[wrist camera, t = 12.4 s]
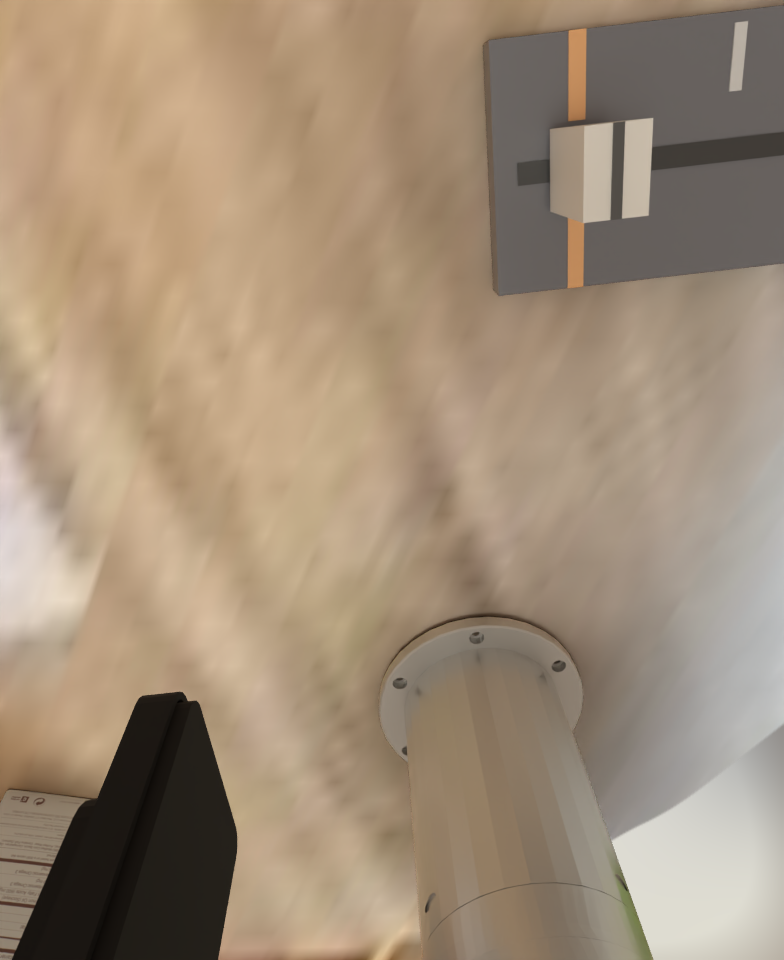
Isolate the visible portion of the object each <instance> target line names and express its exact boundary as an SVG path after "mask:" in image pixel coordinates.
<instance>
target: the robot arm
mask: <svg viewBox="0 0 784 960" xmlns="http://www.w3.org/2000/svg"><path fill="white" fill-rule="evenodd" d="M582 704H583V690H582V682H581V679H580V677H579V674H578V671H577V668H576V666H575V664H574V662H573V660H572V658H571V656H570V655H569V653H568V652H567V651H566V649H565V648H564V647H563V646H562V645H561V644H560V643H559V642H558V641H557V640H556V639H555V638H553V637H552V636H550V635H549V634H548V633H546V632H545V631H543V630H541V629H539V628H537V627H535V626H532V625H530V624H528V623H525V622H521V621H517V620H513V619H509V618H498V617H478V618H467V619H463V620H458V621H454V622H450V623H447V624H444V625H442V626H439V627H437V628H434V629H432V630H430V631H428V632H426V633H425V634H423V635H421V636H420V637H418V638H416V639H415V640H413V641H412V642H411V643H410V644H409V645H408V646H406V647H405V648H404V649H403V650H402V651H401V652H400V653H399V654H398V655H397V657H396V658H395V659H394V660H393V662H392V663H391V664H390V666H389V667H388V670H387V672H386V674H385V676H384V678H383V680H382V684H381V688H380V693H379V716H380V723H381V728H382V730H383V732H384V735H385V737H386V740H387V741H388V743H389V744H390V745H391V747H392V748H393V749H394V751H395V752H396V753H397V754H398V755H399V756H400V757H401V758H403V759H404V760H405V761H406V762H407V763H408V771H409V785H410V798H411V812H412V826H413V839H414V853H415V867H416V881H417V894H418V908H419V922H420V935H421V949H422V960H653V957H652V954H651V952H650V949H649V946H648V943H647V940H646V938H645V935H644V932H643V929H642V926H641V924H640V921H639V918H638V915H637V912H636V909H635V907H634V904H633V901H632V898H631V895H630V893H629V890H628V887H627V884H626V881H625V879H624V876H623V873H622V870H621V867H620V865H619V862H618V859H617V856H616V853H615V851H614V848H613V845H612V842H611V839H610V836H609V834H608V831H607V828H606V825H605V822H604V820H603V817H602V814H601V811H600V808H599V806H598V803H597V800H596V797H595V794H594V792H593V789H592V786H591V783H590V780H589V778H588V775H587V772H586V769H585V766H584V764H583V761H582V758H581V755H580V752H579V750H578V747H577V744H576V741H575V738H574V736H573V733H572V732H573V730H574V729H575V727H576V725H577V722H578V720H579V717H580V714H581V711H582ZM236 854H237V831H236V826H235V823H234V819H233V816H232V812H231V809H230V806H229V802H228V799H227V796H226V792H225V789H224V785H223V782H222V779H221V775H220V772H219V768H218V765H217V762H216V758H215V755H214V751H213V748H212V745H211V741H210V738H209V734H208V731H207V728H206V724H205V721H204V717H203V714H202V711H201V707H200V705H199V703H198V702H197V701H187V698H186V696H185V695H184V693H183V692H174V693H164V694H155V695H146V696H142V697H140V698H139V699H138V701H137V703H136V705H135V707H134V710H133V712H132V715H131V717H130V720H129V722H128V724H127V727H126V729H125V732H124V734H123V737H122V739H121V742H120V744H119V747H118V749H117V752H116V754H115V756H114V759H113V761H112V764H111V766H110V769H109V771H108V774H107V776H106V779H105V781H104V784H103V786H102V788H101V791H100V793H99V796H98V798H97V799H91V800H87V801H85V802H84V803H83V804H82V805H81V806H80V807H79V808H78V809H77V811H76V813H75V815H74V817H73V818H72V821H71V823H70V825H69V828H68V830H67V832H66V835H65V837H64V839H63V842H62V844H61V846H60V849H59V851H58V853H57V856H56V858H55V860H54V863H53V865H52V867H51V869H50V872H49V874H48V876H47V879H46V881H45V883H44V886H43V888H42V890H41V893H40V895H39V897H38V900H37V902H36V904H35V907H34V909H33V911H32V914H31V916H30V918H29V920H28V923H27V925H26V927H25V930H24V932H23V934H22V937H21V939H20V941H19V944H18V946H17V948H16V951H15V953H14V955H13V958H12V960H218V956H219V951H220V945H221V939H222V934H223V928H224V923H225V917H226V911H227V906H228V900H229V894H230V889H231V883H232V878H233V872H234V866H235V861H236Z"/></svg>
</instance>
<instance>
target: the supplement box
mask: <svg viewBox="0 0 784 960" xmlns="http://www.w3.org/2000/svg"><path fill="white" fill-rule="evenodd" d="M87 800H91V799H86V798H78V797H70V796H63V795H55V794H47V793H38V792H30V791H21V790H7V792H6V793H5V795H4V797H3V799H2V801H1V802H0V960H12V958H13V955H14V953H15V951H16V948H17V946H18V944H19V941H20V939H21V937H22V934H23V932H24V930H25V927H26V925H27V923H28V920H29V918H30V916H31V914H32V911H33V909H34V907H35V904H36V902H37V900H38V897H39V895H40V893H41V890H42V888H43V886H44V883H45V881H46V879H47V876H48V874H49V872H50V869H51V867H52V865H53V863H54V860H55V858H56V856H57V853H58V851H59V849H60V846H61V844H62V842H63V839H64V837H65V835H66V832H67V830H68V828H69V825H70V823H71V821H72V818H73V817H74V815H75V813H76V811H77V809H78V808H79V807H80V806H81V805H82V804H83V803H84V802H85V801H87Z"/></svg>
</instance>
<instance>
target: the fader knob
mask: <svg viewBox="0 0 784 960" xmlns="http://www.w3.org/2000/svg"><path fill="white" fill-rule="evenodd" d="M652 136H653V118H647V119H636V120H626V121H615V122H605V123H597V124H588V125H580V126H571V127H562V128H554V129H550V212H553V213H556V214H559V215H561V216H564V217H567V218H570V219H573V220H576V221H578V222H581V223H589V222H598V221H607V220H617V219H624V218H633V217H641V216H649V196H650V176H651V156H652Z"/></svg>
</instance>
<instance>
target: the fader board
mask: <svg viewBox="0 0 784 960" xmlns="http://www.w3.org/2000/svg"><path fill="white" fill-rule="evenodd" d="M483 60H484V84H485V107H486V131H487V155H488V178H489V202H490V225H491V249H492V273H493V290H494V291H495V292H496V293H497V295H498V296H503V295H512V294H520V293H529V292H538V291H547V290H555V289H564V288H576V287H583V286H590V285H599V284H608V283H616V282H625V281H634V280H643V279H651V278H660V277H669V276H677V275H686V274H695V273H704V272H712V271H721V270H730V269H739V268H747V267H756V266H765V265H773V264H782V263H784V5H781V6H772V7H764V8H755V9H747V10H739V11H730V12H722V13H713V14H705V15H696V16H688V17H680V18H671V19H663V20H654V21H646V22H638V23H629V24H621V25H612V26H604V27H595V28H585V29H577V30H569V31H562V32H553V33H545V34H537V35H528V36H520V37H511V38H503V39H495V40H488V41H487V42H486V43H485V44H484V45H483ZM647 118H653V136H652V156H651V176H650V196H649V216H641V217H633V218H624V219H617V220H607V221H598V222H589V223H581V222H578V221H576V220H573V219H570V218H567V217H564V216H561V215H559V214H556V213H553V212H550V129H554V128H562V127H571V126H580V125H588V124H597V123H605V122H615V121H626V120H636V119H647Z"/></svg>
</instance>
